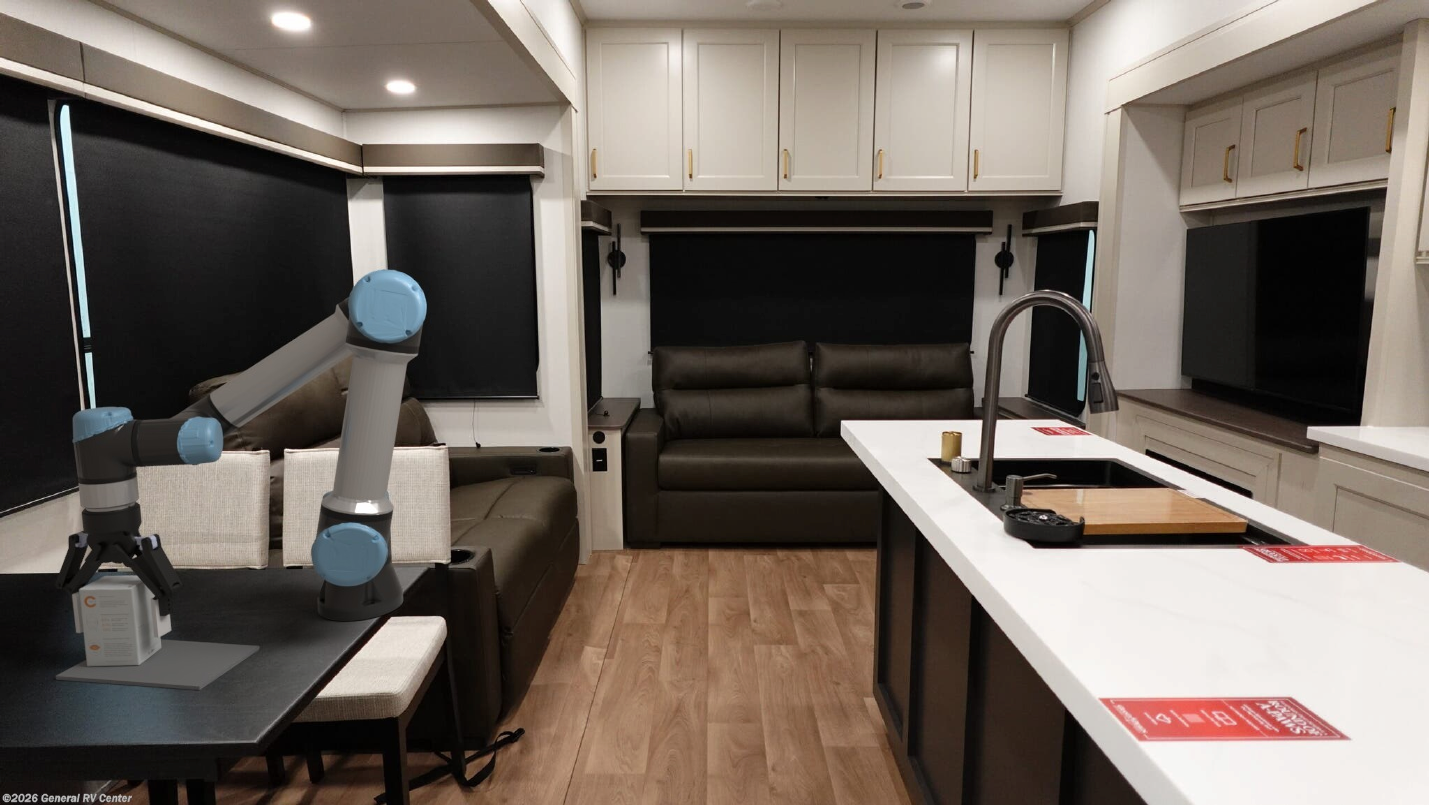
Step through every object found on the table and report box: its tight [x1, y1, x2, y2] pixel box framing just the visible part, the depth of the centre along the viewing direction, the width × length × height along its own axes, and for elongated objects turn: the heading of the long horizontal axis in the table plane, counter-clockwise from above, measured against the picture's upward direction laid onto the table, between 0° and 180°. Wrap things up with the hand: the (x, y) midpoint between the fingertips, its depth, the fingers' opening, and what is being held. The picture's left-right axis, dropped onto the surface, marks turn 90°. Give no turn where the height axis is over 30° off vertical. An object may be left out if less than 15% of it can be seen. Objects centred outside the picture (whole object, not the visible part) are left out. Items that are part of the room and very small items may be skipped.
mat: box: [55, 638, 261, 691], centre depth 132 cm, size 24×14×1 cm, turn 84°
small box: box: [79, 574, 162, 666], centre depth 132 cm, size 8×6×13 cm
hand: (124, 632), depth 132 cm, fingers open, 13 cm apart
